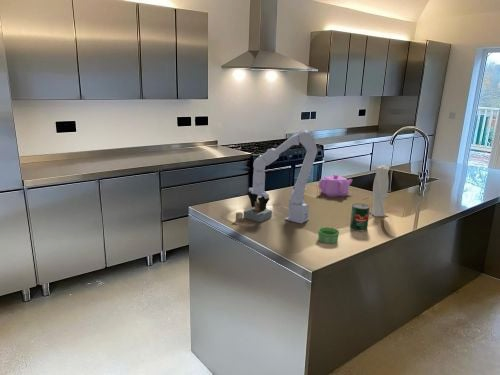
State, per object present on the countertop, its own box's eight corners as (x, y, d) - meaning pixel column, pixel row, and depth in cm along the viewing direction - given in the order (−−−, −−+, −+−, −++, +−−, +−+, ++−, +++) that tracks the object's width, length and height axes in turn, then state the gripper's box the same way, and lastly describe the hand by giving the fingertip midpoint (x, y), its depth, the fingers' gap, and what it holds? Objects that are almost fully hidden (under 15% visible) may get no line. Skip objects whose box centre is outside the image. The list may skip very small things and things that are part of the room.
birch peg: (243, 220, 181) (243, 213, 180) (239, 222, 179) (239, 214, 178) (238, 219, 183) (238, 211, 182) (234, 221, 180) (234, 213, 179)
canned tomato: (357, 232, 171) (359, 209, 168) (346, 226, 177) (348, 204, 175) (370, 229, 174) (373, 207, 171) (359, 224, 181) (362, 202, 178)
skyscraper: (389, 217, 191) (396, 164, 184) (374, 218, 190) (380, 164, 183) (381, 212, 199) (387, 161, 192) (366, 212, 198) (372, 161, 191)
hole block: (271, 217, 187) (271, 210, 186) (260, 222, 180) (260, 215, 179) (255, 212, 193) (255, 206, 192) (243, 217, 185) (243, 211, 184)
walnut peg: (258, 219, 184) (258, 203, 182) (253, 217, 186) (253, 202, 184) (261, 217, 187) (262, 202, 185) (256, 216, 188) (256, 200, 186)
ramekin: (318, 235, 166) (319, 225, 165) (339, 237, 163) (340, 228, 162) (316, 242, 158) (316, 233, 156) (337, 245, 155) (338, 236, 154)
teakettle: (316, 194, 230) (318, 175, 226) (325, 189, 244) (327, 170, 241) (343, 199, 221) (345, 179, 218) (351, 193, 236) (353, 174, 232)
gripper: (243, 180, 185) (243, 206, 189) (260, 186, 174) (259, 214, 177) (255, 178, 189) (254, 204, 193) (272, 185, 177) (271, 212, 181)
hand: (257, 208), depth 185 cm, fingers open, 7 cm apart
